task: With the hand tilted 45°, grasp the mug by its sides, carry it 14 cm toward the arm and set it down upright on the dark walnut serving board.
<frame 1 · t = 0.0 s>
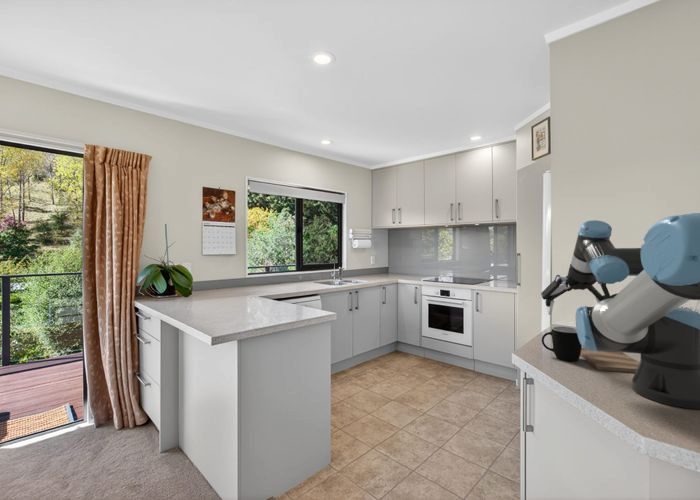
hand: (570, 312, 117), 15 cm above the countertop, tool tilted 35°, fingers open, 13 cm apart
walnut board: (609, 361, 112), on the countertop
mug: (561, 358, 116), on the countertop
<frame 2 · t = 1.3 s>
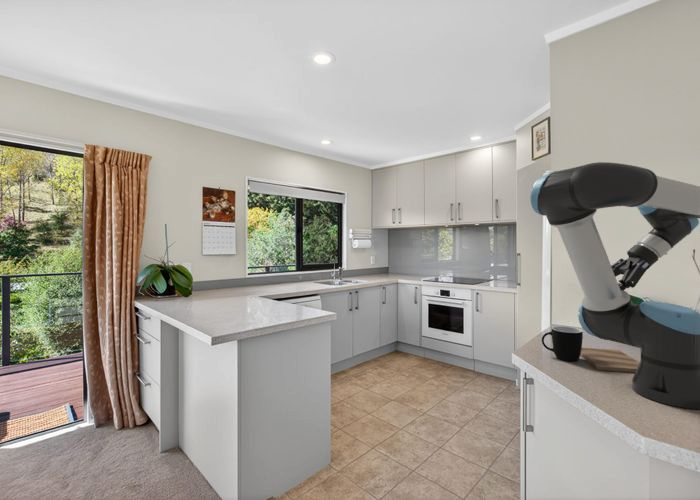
hand: (595, 296, 112), 22 cm above the countertop, tool tilted 45°, fingers open, 13 cm apart
nothing on the countertop moved.
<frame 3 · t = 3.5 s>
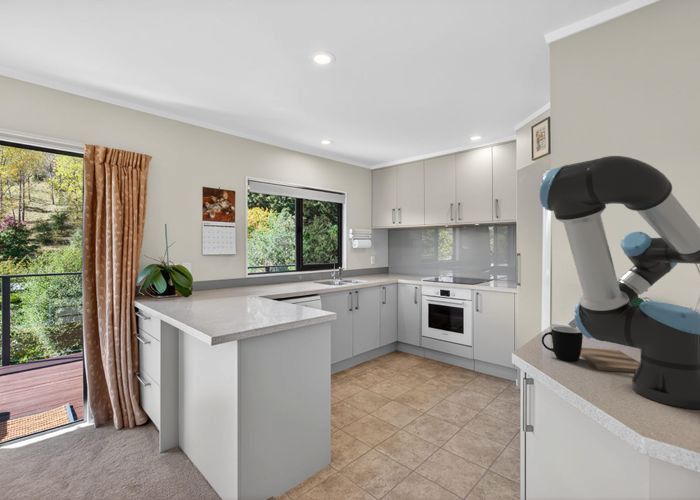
hand: (577, 330, 115), 9 cm above the countertop, tool tilted 45°, fingers open, 13 cm apart
nothing on the countertop moved.
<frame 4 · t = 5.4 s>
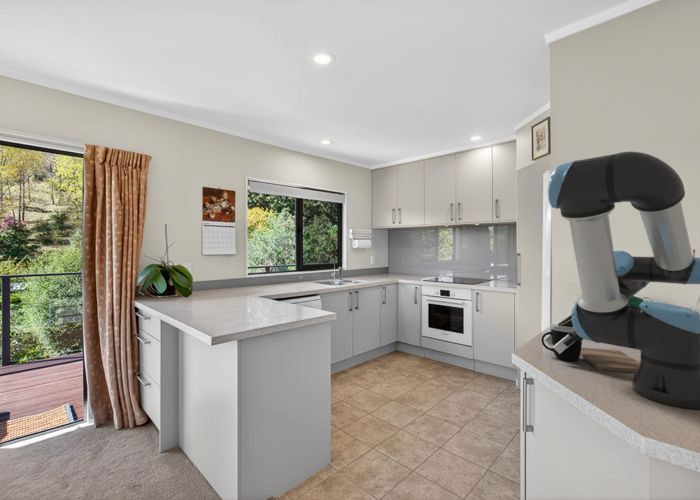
hand: (551, 346, 116), 4 cm above the countertop, tool tilted 45°, fingers open, 9 cm apart
mug: (561, 358, 116), on the countertop, touching gripper
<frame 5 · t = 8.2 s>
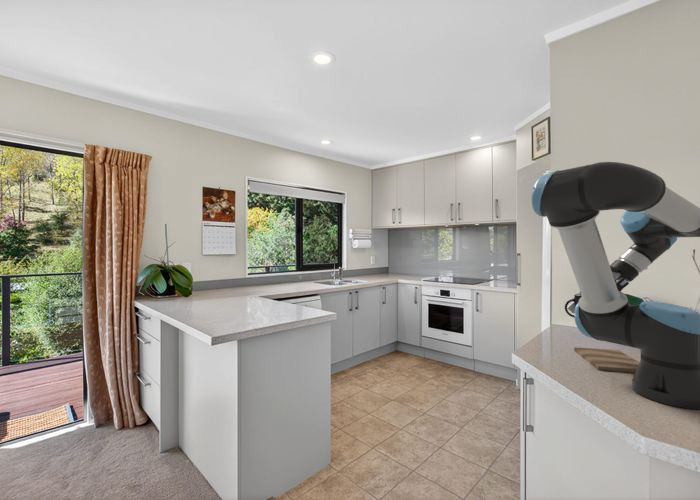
hand: (575, 313, 114), 16 cm above the countertop, tool tilted 45°, fingers closed on mug, 9 cm apart
mug: (586, 324, 114), point 12 cm above the countertop, touching gripper
when the fingers open (6 cm above the countertop, at t = 10.9 s): mug drops 1 cm, resting on walnut board.
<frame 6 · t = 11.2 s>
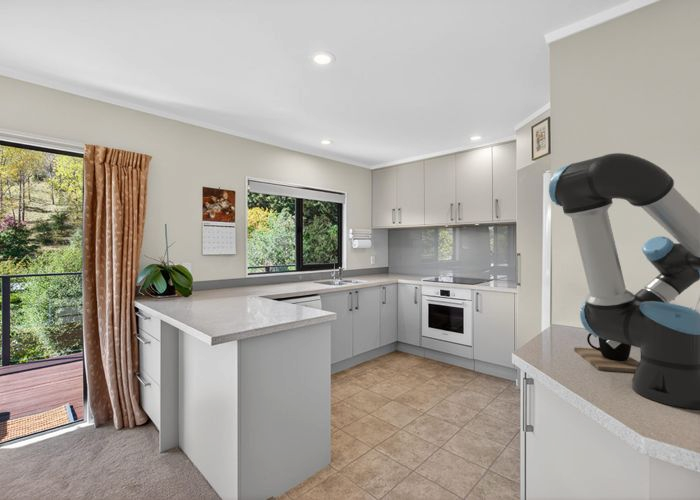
hand: (600, 339, 112), 7 cm above the countertop, tool tilted 45°, fingers open, 13 cm apart
mug: (609, 357, 112), point 1 cm above the countertop, touching walnut board
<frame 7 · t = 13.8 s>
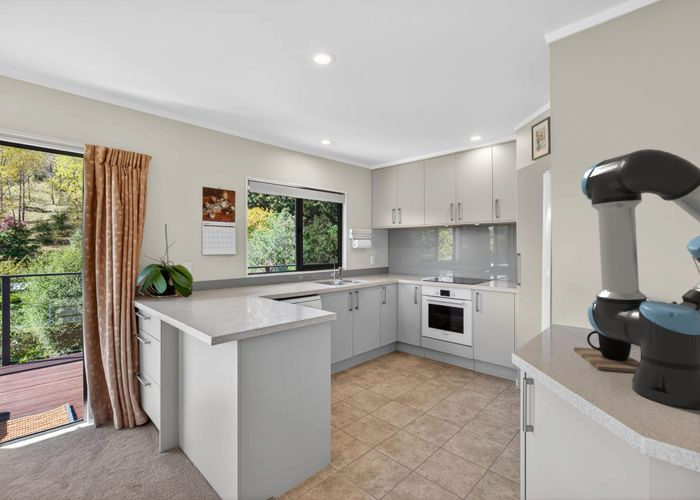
hand: (647, 341, 109), 7 cm above the countertop, tool tilted 45°, fingers open, 13 cm apart
nothing on the countertop moved.
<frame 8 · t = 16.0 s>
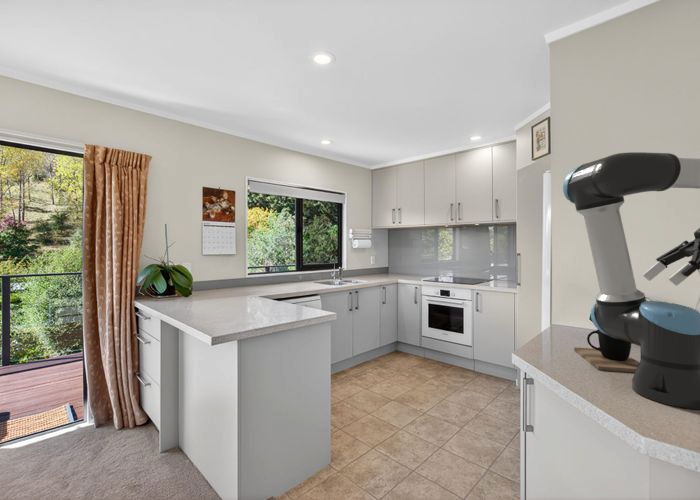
hand: (658, 280, 106), 28 cm above the countertop, tool tilted 45°, fingers open, 13 cm apart
nothing on the countertop moved.
at the end: mug inside the target area on the walnut board (0.3 cm from its centre), point 1.0 cm above the walnut board's base; mug tilted 0°; the gripper is holding nothing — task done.
